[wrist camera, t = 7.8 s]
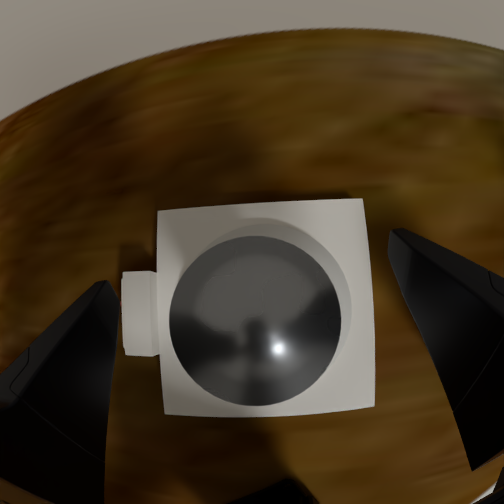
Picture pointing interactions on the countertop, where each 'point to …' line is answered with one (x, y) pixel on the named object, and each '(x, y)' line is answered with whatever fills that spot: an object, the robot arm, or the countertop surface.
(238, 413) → the scale
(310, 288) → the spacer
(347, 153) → the countertop surface
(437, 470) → the countertop surface
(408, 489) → the countertop surface
